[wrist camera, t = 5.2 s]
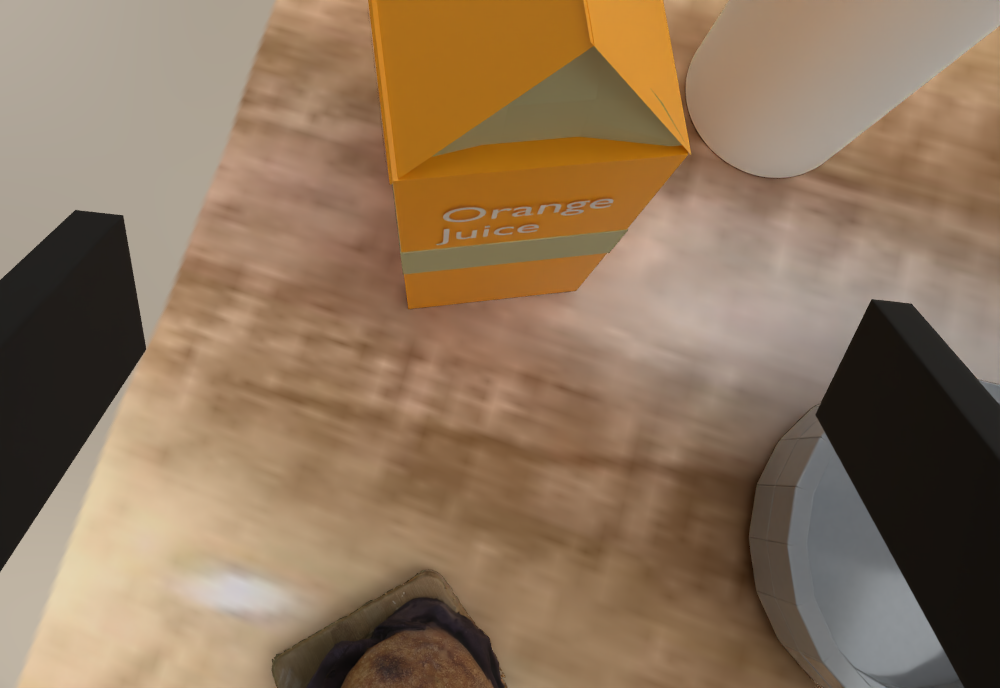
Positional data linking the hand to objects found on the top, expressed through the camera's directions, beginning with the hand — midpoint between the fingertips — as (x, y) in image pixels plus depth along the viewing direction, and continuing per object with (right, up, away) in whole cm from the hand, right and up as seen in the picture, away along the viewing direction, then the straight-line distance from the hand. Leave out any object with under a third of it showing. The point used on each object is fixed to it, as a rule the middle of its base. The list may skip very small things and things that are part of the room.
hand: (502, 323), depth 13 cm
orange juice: (-1, +6, +20) cm, 21 cm away
